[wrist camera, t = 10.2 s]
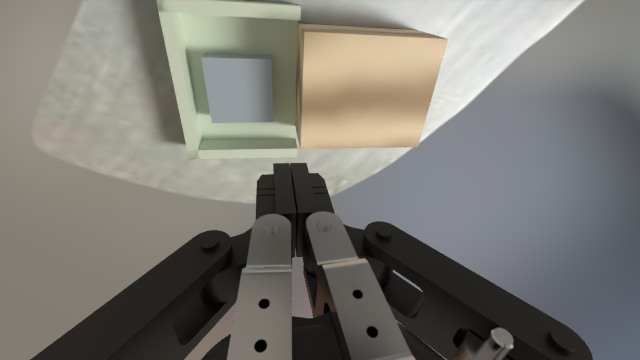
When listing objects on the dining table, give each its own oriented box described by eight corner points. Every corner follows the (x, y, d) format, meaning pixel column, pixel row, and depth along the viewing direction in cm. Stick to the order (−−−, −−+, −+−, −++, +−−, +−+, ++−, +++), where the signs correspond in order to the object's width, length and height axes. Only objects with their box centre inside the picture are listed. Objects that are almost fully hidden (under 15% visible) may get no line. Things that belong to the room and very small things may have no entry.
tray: (166, -5, 24) (155, -4, 22) (297, 4, 26) (300, 6, 24) (194, 145, 32) (189, 159, 30) (294, 144, 34) (297, 156, 31)
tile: (271, 59, 26) (270, 54, 28) (201, 57, 25) (204, 53, 27) (273, 122, 29) (273, 114, 31) (211, 123, 28) (214, 115, 30)
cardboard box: (296, 23, 27) (304, 31, 22) (416, 30, 29) (448, 39, 24) (294, 124, 33) (300, 149, 28) (395, 123, 35) (417, 147, 30)
